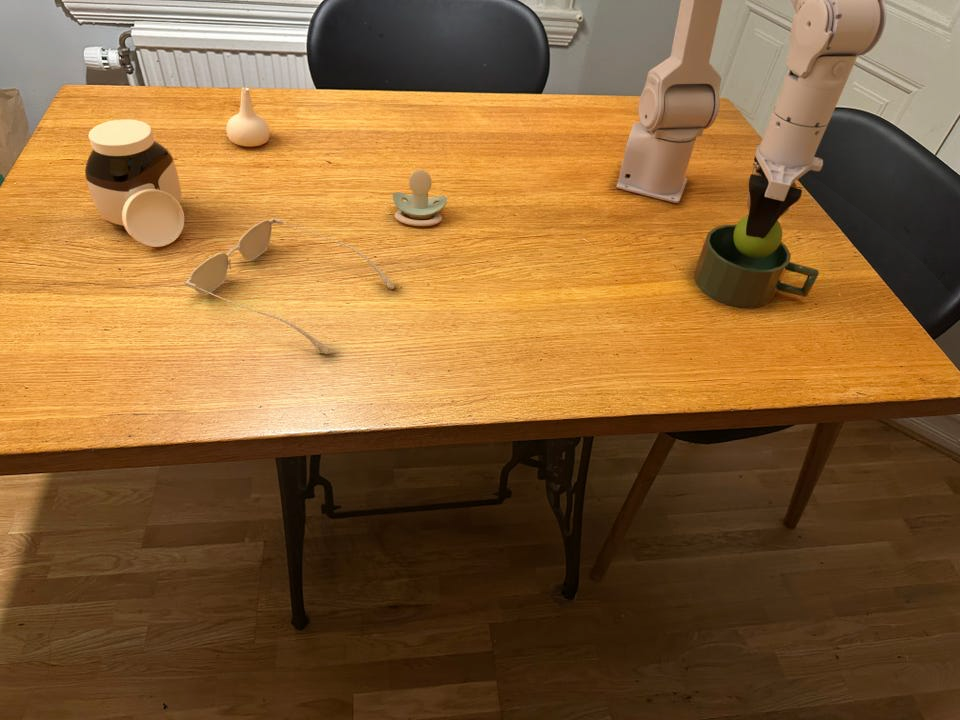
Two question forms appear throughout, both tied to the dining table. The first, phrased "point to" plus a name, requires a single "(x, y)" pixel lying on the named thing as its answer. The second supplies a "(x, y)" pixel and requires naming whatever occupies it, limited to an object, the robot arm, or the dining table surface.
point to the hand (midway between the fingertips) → (756, 225)
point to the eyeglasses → (250, 248)
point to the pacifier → (419, 202)
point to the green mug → (745, 272)
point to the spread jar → (134, 182)
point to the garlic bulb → (247, 125)
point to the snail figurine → (756, 245)
